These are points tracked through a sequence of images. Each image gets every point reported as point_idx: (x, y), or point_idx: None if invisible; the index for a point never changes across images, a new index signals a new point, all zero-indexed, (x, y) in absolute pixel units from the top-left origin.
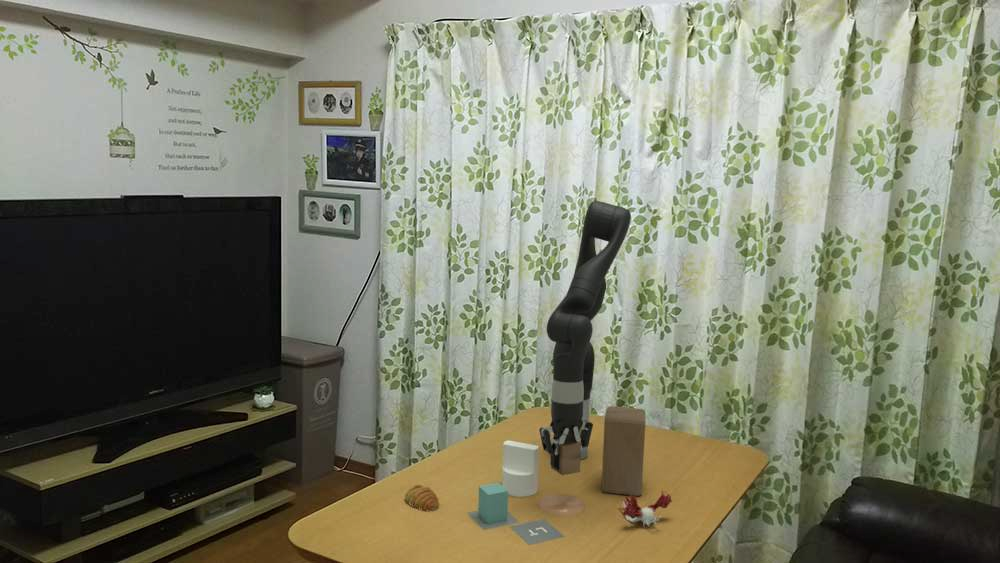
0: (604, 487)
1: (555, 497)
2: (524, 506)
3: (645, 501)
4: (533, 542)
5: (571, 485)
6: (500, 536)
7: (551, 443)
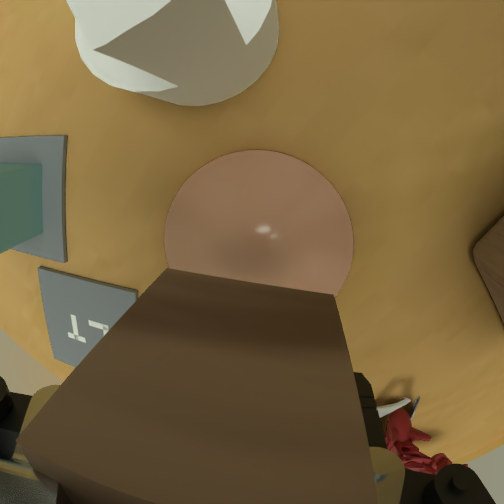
0: (479, 264)
1: (275, 186)
2: (132, 166)
3: (492, 358)
4: (65, 358)
5: (429, 120)
6: (17, 284)
7: (16, 448)
